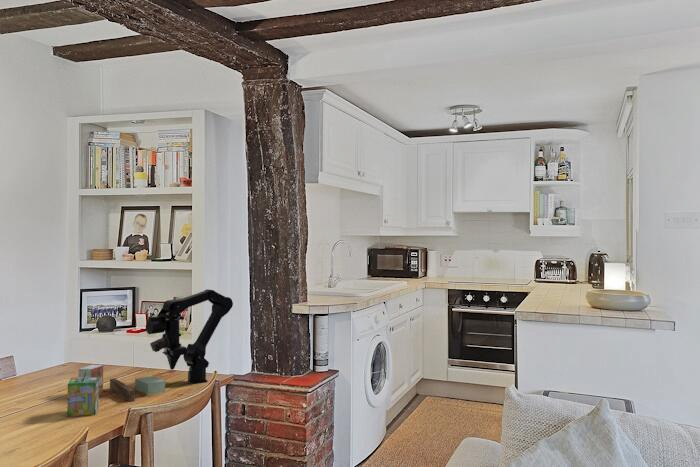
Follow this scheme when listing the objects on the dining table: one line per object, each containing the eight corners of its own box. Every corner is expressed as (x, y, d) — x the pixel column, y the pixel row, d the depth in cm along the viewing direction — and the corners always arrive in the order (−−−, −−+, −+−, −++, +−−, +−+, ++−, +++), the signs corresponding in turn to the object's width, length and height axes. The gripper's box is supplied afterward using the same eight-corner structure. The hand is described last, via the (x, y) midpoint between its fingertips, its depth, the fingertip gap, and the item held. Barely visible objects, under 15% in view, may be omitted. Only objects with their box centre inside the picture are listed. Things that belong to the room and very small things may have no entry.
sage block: (151, 386, 242) (151, 375, 242) (165, 392, 233) (165, 381, 234) (135, 389, 237) (135, 378, 237) (148, 395, 229) (148, 383, 229)
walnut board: (115, 388, 239) (115, 378, 239) (134, 400, 220) (134, 390, 220) (109, 388, 237) (109, 378, 237) (129, 401, 219) (129, 391, 219)
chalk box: (71, 410, 208) (71, 368, 208) (99, 408, 211) (99, 366, 211) (66, 417, 199) (66, 373, 199) (95, 415, 202) (95, 372, 202)
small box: (90, 396, 226) (91, 369, 226) (77, 395, 227) (78, 368, 227) (103, 391, 234) (103, 364, 234) (91, 390, 235) (91, 364, 235)
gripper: (144, 330, 244) (144, 368, 244) (161, 336, 229) (161, 376, 229) (170, 327, 250) (170, 364, 250) (188, 333, 236) (188, 372, 236)
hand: (172, 369), depth 241 cm, fingers closed
